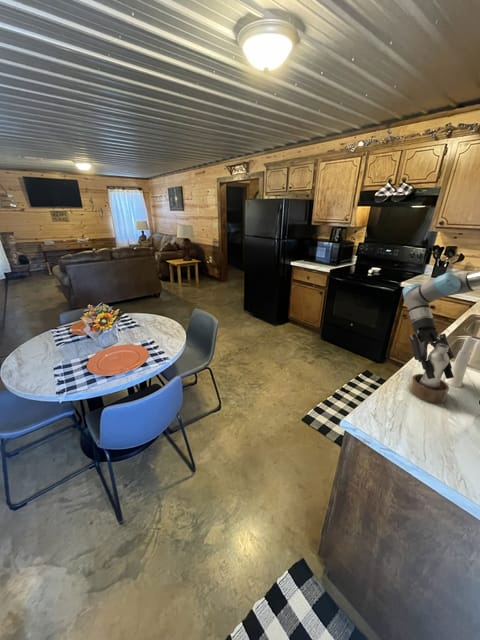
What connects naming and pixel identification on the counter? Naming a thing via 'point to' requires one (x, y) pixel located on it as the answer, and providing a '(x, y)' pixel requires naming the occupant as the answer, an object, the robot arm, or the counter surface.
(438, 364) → the plastic bottle
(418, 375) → the holder
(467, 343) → the cosmetic bottle
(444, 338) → the robot arm
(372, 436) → the counter surface
